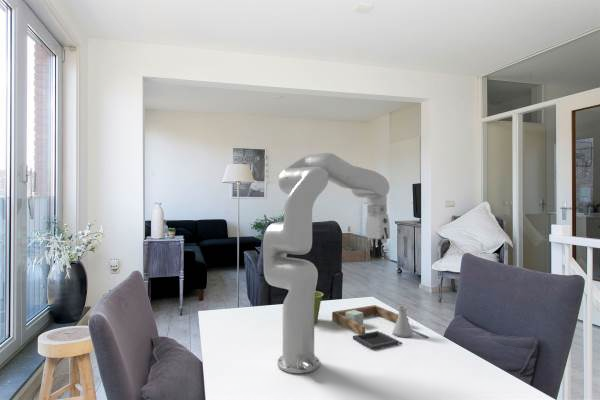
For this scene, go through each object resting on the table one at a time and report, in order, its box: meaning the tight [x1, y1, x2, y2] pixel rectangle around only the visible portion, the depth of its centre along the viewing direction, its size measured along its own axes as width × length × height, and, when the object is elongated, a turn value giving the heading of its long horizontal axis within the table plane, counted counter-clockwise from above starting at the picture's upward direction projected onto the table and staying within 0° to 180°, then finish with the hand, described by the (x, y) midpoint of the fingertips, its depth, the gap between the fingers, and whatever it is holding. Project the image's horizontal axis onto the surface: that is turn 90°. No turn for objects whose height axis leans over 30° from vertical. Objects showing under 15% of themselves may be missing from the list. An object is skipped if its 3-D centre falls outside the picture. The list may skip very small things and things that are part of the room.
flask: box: [392, 305, 414, 338], centre depth 138 cm, size 7×7×10 cm
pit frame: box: [352, 330, 399, 351], centre depth 131 cm, size 11×11×1 cm
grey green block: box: [345, 310, 364, 326], centre depth 148 cm, size 5×5×5 cm
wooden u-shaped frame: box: [331, 304, 409, 335], centre depth 150 cm, size 20×22×4 cm
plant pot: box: [314, 290, 324, 324], centre depth 153 cm, size 12×12×11 cm
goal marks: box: [380, 328, 429, 345], centre depth 136 cm, size 11×13×1 cm
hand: (376, 256), depth 148 cm, fingers closed
